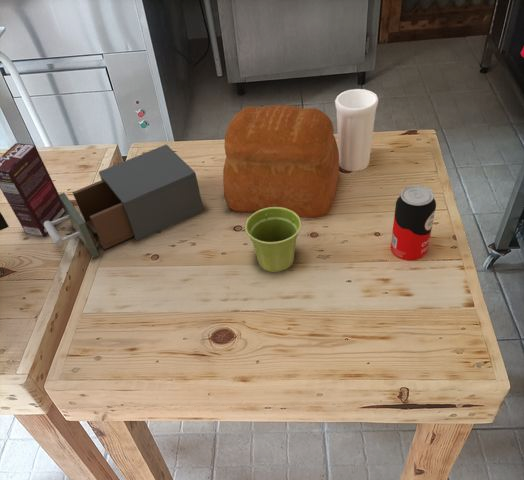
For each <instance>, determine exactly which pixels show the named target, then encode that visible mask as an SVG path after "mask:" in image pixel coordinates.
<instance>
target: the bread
mask: <svg viewBox="0 0 524 480" xmlns="http://www.w3.org/2000/svg"><path fill="white" fill-rule="evenodd" d="M334 133H335V130H334V124H333V121H332V120H331V118H330V116H329V115H327V114H326V113H325V112H324V111H323V110H321V109H319V108H316V107H311V108H309V107H308V108H304V107H301V106H300V107H299V106H295V105H285V104H272V105H268V106H252V105H250V106H247V107H244V108H242V109H241V110H239V111H238V112H237V113H236V114H235V115H234V117H232V119H231V120H230V122H229V124H228V126H227V128H226V132H225V135H224V151H225V160H224V164H223V165H224V166H223V170H222V182H223V183H222V184H223V195H224V199H225V202H226V205H227V206H228V207H229V208H230V209H231V210H233V211H235V212H237V213H238V212H240V213H255V212H257V211H259V210H261V209H264V208H269V207H282V208H286V209H289V210H291V211H293V212H295V213H296V214H297V215H298V216H299V217H302V218H319V217H322V216H324V215H327V214H328V212H329V211H330V210H331V209H332V205H333V202H334V198H335V194H336V191H337V185H338V182H339V176H340V175H339V173H340V165H339V152H338V142H337V140H336V137H335V134H334Z"/></svg>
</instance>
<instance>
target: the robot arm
mask: <svg viewBox="0 0 524 480" xmlns="http://www.w3.org/2000/svg"><path fill="white" fill-rule="evenodd" d="M7 228H9V224H8V222H7V220H6V219H5V217H4V215H3V214H2V212H1V211H0V231H3V230H5V229H7Z"/></svg>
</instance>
